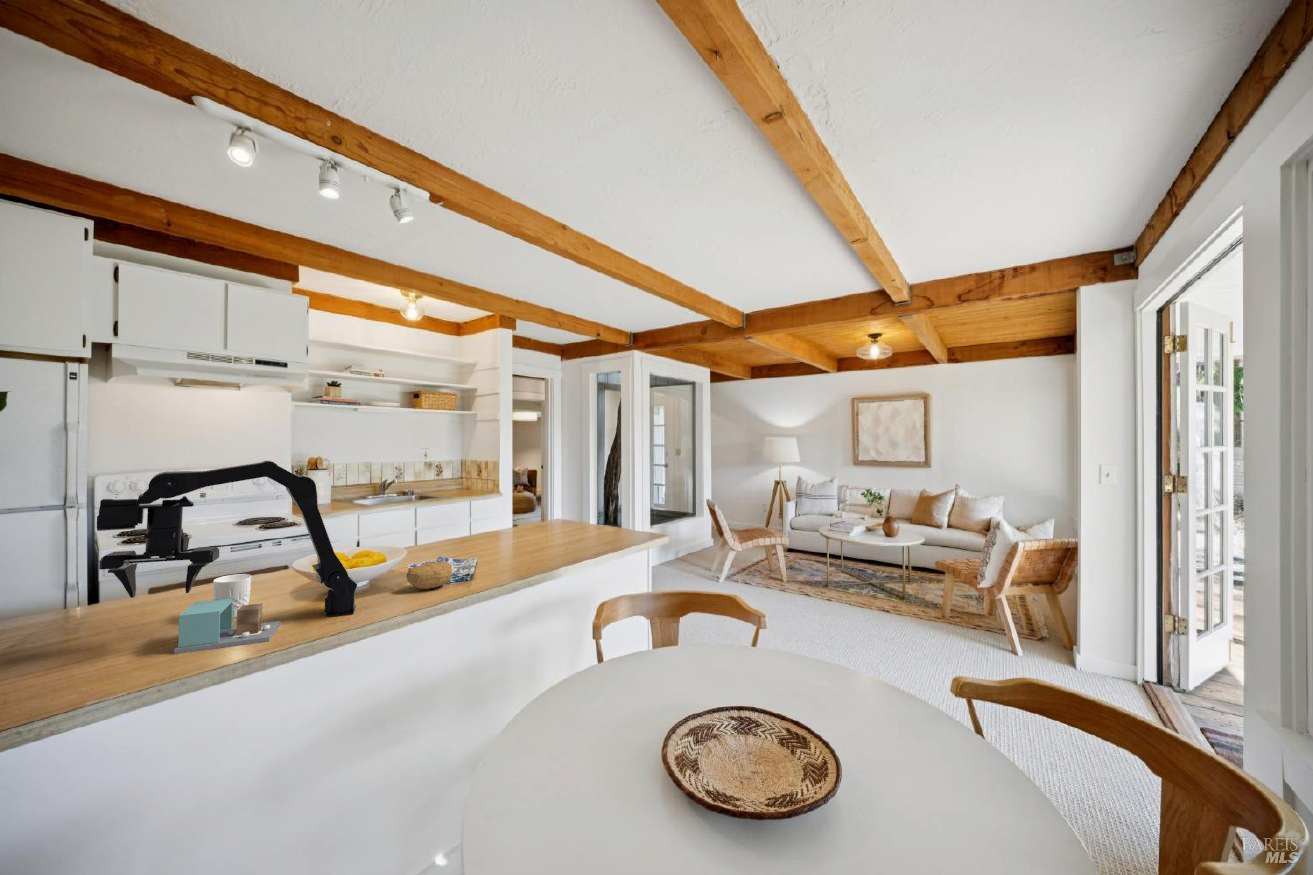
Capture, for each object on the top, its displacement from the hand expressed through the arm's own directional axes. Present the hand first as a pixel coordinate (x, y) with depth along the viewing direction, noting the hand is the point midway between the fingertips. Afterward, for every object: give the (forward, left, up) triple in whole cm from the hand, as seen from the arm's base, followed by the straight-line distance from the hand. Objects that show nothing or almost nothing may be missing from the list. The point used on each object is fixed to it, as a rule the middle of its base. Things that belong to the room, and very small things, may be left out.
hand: (160, 594), depth 112 cm
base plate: (-13, 0, -12) cm, 17 cm away
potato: (-57, -24, -12) cm, 63 cm away
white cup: (-8, -19, -12) cm, 24 cm away
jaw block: (-16, 0, -11) cm, 20 cm away
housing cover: (-8, 0, -11) cm, 14 cm away
